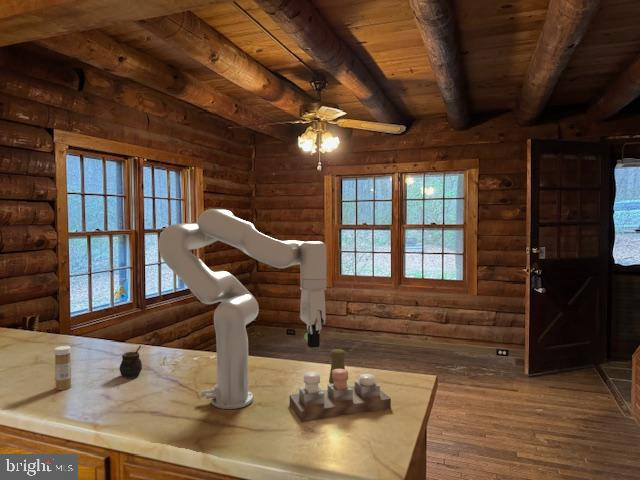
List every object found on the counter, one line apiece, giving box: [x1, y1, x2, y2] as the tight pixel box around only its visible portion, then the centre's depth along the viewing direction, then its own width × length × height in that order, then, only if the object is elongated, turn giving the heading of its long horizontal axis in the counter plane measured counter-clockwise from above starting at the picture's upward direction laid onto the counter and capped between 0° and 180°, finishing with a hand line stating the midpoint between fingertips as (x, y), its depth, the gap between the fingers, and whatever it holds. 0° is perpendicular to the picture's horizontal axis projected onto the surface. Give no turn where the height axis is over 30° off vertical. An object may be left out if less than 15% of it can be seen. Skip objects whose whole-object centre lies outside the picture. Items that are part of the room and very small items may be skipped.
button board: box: [289, 380, 392, 423], centre depth 129 cm, size 28×12×6 cm, turn 110°
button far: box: [358, 373, 376, 386], centre depth 132 cm, size 5×5×5 cm
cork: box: [328, 348, 346, 384], centre depth 149 cm, size 6×6×11 cm
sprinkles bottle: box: [53, 345, 72, 391], centre depth 140 cm, size 5×5×13 cm
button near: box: [303, 371, 321, 394], centre depth 126 cm, size 5×5×5 cm
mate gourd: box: [119, 345, 143, 379], centre depth 152 cm, size 7×8×10 cm
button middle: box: [332, 368, 349, 390], centre depth 129 cm, size 5×5×5 cm
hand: (313, 346), depth 125 cm, fingers closed
